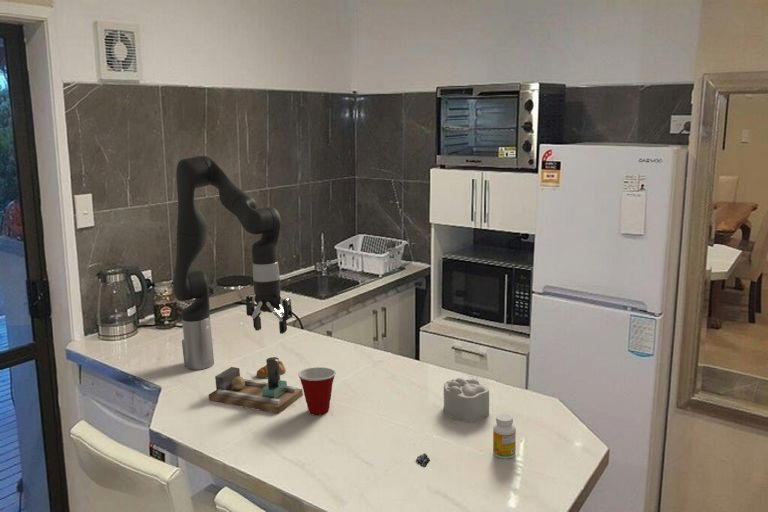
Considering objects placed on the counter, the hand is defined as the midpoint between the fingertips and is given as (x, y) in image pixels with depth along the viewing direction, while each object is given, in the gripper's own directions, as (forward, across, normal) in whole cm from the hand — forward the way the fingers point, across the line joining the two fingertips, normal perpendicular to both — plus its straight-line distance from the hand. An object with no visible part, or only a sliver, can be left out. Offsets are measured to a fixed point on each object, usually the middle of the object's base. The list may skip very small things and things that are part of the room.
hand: (270, 331), depth 185 cm
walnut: (+18, -13, 0) cm, 22 cm away
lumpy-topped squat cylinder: (+22, +54, +13) cm, 60 cm away
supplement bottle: (+22, +70, -6) cm, 74 cm away
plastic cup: (+22, +16, -1) cm, 27 cm away
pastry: (+22, -13, +18) cm, 32 cm away
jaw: (+20, 0, 0) cm, 20 cm away
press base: (+22, -7, 0) cm, 23 cm away
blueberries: (+23, +54, -16) cm, 60 cm away
